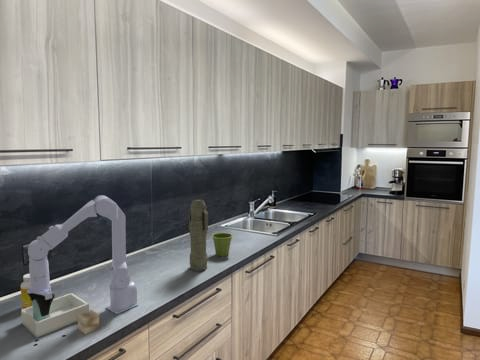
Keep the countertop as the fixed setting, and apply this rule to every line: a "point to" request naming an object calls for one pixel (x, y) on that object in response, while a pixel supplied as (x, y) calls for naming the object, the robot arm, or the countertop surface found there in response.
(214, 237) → the plant pot
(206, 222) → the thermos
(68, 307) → the tote
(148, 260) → the countertop surface
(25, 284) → the supplement bottle
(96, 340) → the countertop surface
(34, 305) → the teal cylinder
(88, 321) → the beech cube
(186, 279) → the countertop surface
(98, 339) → the countertop surface
